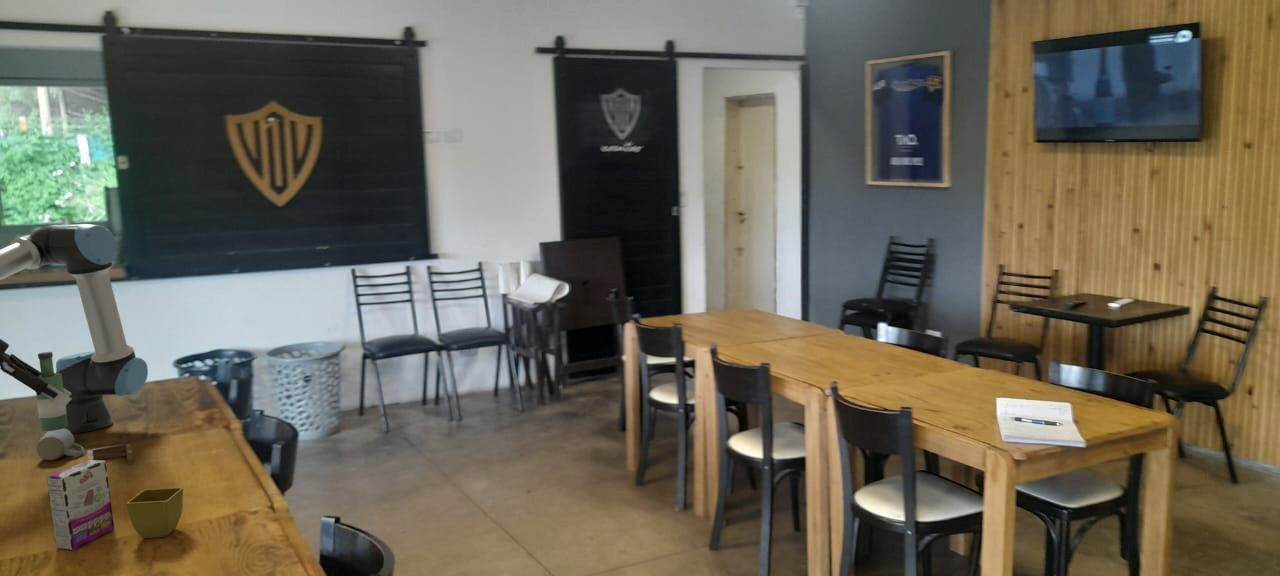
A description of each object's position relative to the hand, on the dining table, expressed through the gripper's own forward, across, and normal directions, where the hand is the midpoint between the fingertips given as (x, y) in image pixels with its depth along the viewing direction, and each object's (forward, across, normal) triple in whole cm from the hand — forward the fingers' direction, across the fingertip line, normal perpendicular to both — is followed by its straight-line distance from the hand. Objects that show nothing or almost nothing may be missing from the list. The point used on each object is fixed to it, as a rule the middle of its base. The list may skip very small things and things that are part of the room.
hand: (67, 399), depth 244 cm
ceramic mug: (+12, -18, -17) cm, 28 cm away
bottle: (+2, 0, -8) cm, 8 cm away
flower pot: (+25, +60, -3) cm, 65 cm away
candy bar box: (+15, +54, -13) cm, 57 cm away
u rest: (+20, -4, -8) cm, 22 cm away
